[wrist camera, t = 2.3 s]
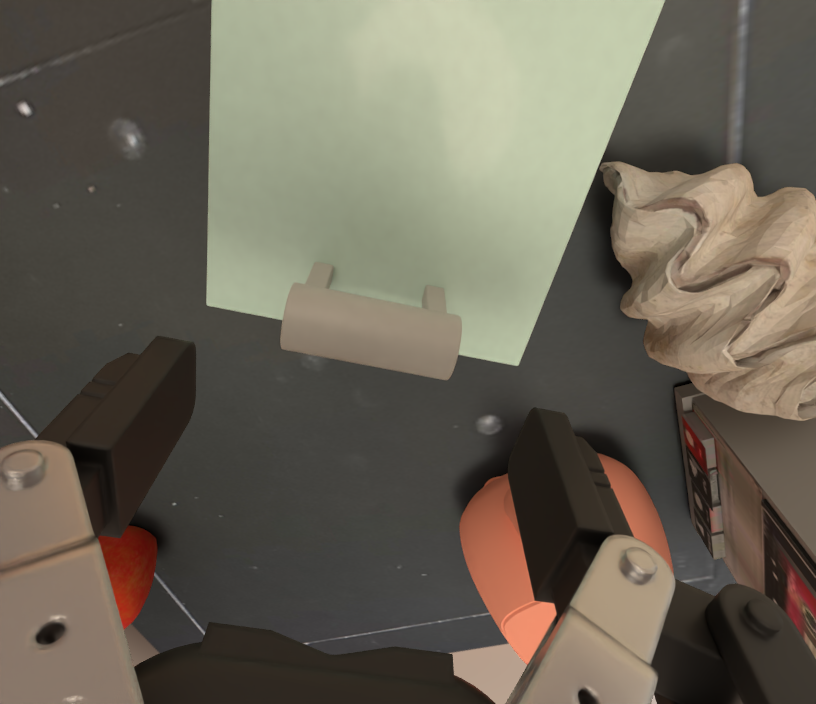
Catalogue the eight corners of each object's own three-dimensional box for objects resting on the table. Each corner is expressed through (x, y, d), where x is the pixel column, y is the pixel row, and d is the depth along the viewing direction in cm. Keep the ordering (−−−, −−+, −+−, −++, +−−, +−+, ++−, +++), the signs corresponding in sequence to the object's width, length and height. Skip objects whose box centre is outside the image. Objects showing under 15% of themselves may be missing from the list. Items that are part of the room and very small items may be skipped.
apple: (154, 503, 40) (104, 592, 33) (185, 553, 43) (145, 644, 36) (79, 512, 40) (16, 601, 34) (115, 561, 43) (64, 651, 37)
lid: (514, 355, 21) (544, 445, 16) (213, 296, 19) (151, 376, 15) (665, -28, 14) (788, -60, 10) (224, -157, 13) (119, -267, 8)
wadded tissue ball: (627, 381, 33) (701, 497, 25) (563, 165, 26) (637, 224, 18) (795, 323, 31) (941, 430, 22) (775, 69, 24) (976, 85, 15)
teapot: (591, 360, 32) (675, 510, 22) (665, 543, 42) (749, 709, 31) (407, 434, 36) (404, 595, 25) (513, 588, 45) (543, 753, 35)
